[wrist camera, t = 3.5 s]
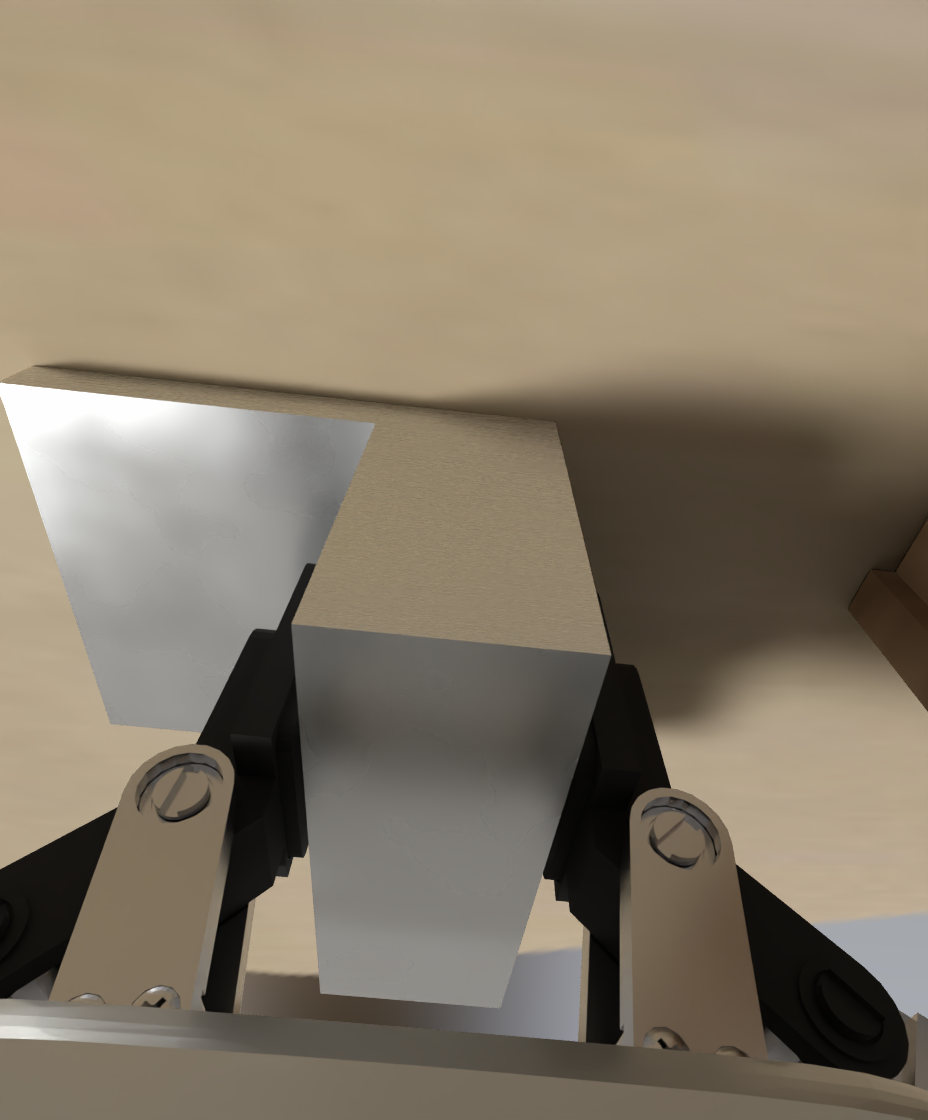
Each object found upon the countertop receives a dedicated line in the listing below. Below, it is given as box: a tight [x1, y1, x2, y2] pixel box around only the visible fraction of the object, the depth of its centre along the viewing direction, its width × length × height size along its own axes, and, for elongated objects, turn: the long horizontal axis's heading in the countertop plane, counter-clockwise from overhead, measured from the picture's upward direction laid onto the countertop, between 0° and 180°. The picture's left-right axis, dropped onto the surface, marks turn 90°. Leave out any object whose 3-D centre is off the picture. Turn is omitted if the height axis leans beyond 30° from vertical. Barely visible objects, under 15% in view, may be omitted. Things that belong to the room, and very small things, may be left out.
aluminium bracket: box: [0, 366, 611, 1008], centre depth 10 cm, size 8×9×6 cm
